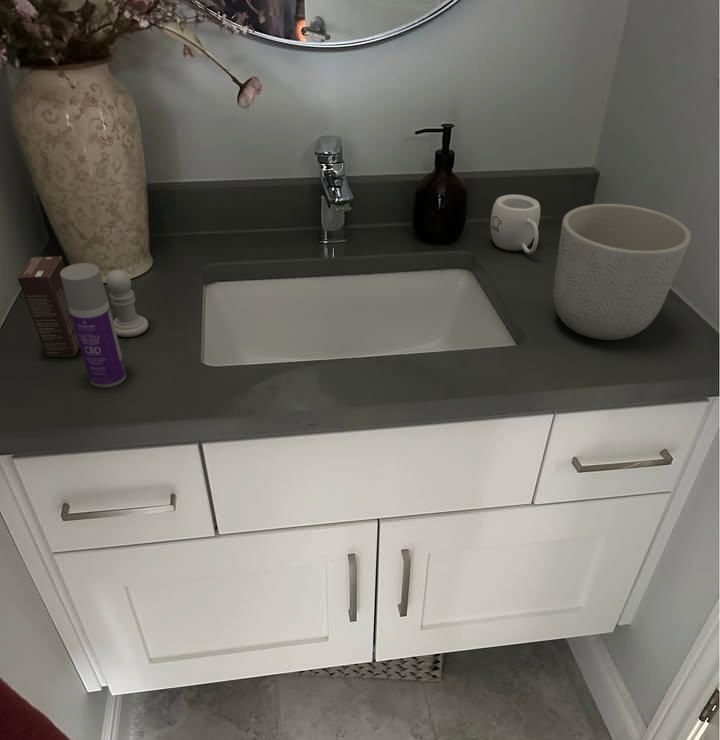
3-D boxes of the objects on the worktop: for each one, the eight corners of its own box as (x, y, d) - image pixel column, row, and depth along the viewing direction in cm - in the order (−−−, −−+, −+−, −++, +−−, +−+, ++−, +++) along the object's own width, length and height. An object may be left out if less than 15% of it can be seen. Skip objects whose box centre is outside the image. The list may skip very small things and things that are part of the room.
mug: (478, 238, 128) (484, 195, 123) (518, 233, 130) (526, 190, 125) (511, 266, 120) (519, 220, 114) (553, 259, 122) (563, 214, 117)
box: (55, 335, 100) (30, 255, 92) (87, 335, 100) (64, 255, 92) (42, 358, 95) (15, 275, 87) (75, 358, 95) (51, 276, 87)
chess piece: (121, 342, 99) (107, 283, 93) (105, 327, 102) (90, 269, 96) (155, 330, 101) (143, 272, 95) (138, 316, 104) (126, 259, 98)
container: (92, 390, 90) (61, 283, 80) (87, 372, 93) (56, 266, 83) (129, 383, 91) (103, 276, 81) (123, 365, 94) (97, 260, 84)
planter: (565, 358, 98) (592, 255, 87) (526, 301, 110) (545, 205, 100) (677, 351, 100) (716, 249, 89) (626, 296, 112) (655, 201, 102)
